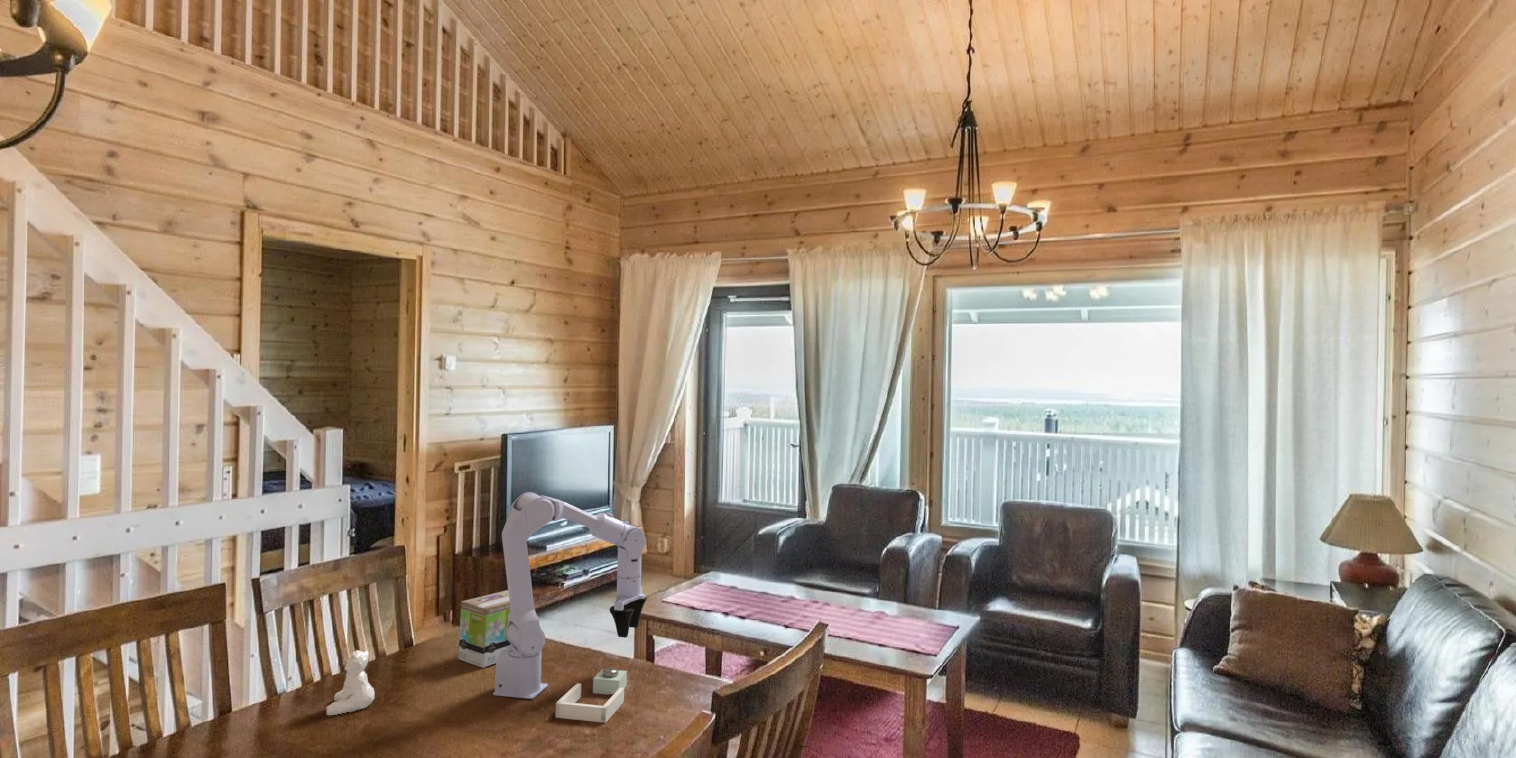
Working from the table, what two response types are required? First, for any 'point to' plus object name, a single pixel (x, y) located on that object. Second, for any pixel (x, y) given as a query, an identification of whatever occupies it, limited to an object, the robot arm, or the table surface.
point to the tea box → (484, 628)
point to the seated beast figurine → (353, 687)
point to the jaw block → (609, 681)
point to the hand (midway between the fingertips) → (628, 631)
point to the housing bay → (587, 706)
